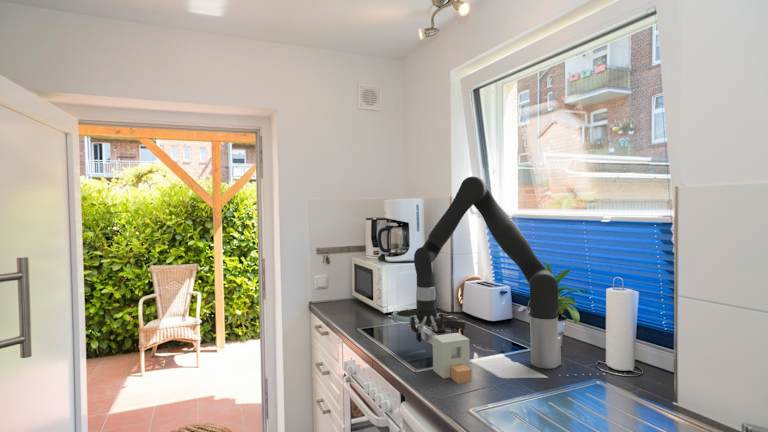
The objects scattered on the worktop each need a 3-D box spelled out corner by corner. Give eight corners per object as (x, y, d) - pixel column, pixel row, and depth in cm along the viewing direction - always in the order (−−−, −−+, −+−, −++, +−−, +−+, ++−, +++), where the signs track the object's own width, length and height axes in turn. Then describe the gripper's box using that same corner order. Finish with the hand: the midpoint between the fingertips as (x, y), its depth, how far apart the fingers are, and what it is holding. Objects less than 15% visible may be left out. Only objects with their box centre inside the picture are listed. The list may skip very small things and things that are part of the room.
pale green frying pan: (409, 303, 240) (434, 313, 218) (410, 310, 240) (434, 320, 218) (381, 307, 233) (403, 317, 210) (381, 314, 233) (403, 325, 210)
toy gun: (455, 330, 190) (467, 318, 203) (413, 322, 201) (427, 312, 214) (455, 340, 191) (467, 328, 204) (414, 332, 201) (427, 321, 214)
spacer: (464, 376, 145) (463, 364, 145) (471, 381, 140) (471, 369, 140) (450, 378, 144) (450, 366, 143) (458, 384, 139) (457, 371, 139)
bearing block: (458, 366, 154) (457, 332, 154) (469, 374, 146) (469, 339, 146) (433, 370, 151) (432, 336, 151) (443, 378, 143) (442, 342, 143)
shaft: (425, 335, 174) (425, 324, 174) (459, 357, 147) (459, 344, 147) (415, 336, 172) (415, 325, 172) (448, 359, 146) (447, 346, 146)
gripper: (412, 301, 161) (413, 346, 162) (447, 298, 166) (447, 341, 166) (405, 297, 168) (406, 340, 169) (438, 294, 173) (439, 336, 173)
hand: (426, 340), depth 167 cm, fingers open, 5 cm apart
